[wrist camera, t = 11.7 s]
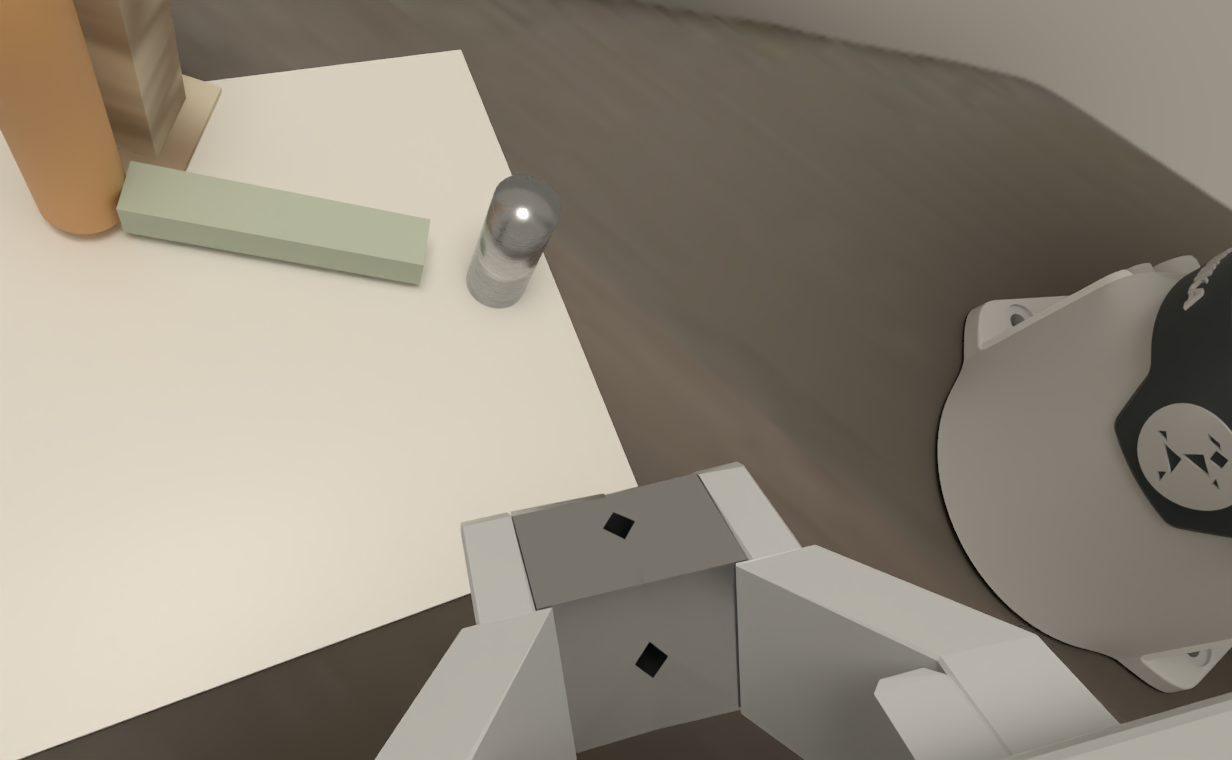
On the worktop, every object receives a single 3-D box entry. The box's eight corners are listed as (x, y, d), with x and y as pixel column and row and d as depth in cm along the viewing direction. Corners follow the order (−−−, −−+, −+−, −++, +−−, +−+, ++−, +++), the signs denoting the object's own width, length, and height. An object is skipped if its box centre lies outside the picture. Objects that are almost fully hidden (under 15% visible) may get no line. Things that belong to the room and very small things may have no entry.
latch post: (91, 53, 37) (-1, -255, 26) (222, 96, 38) (189, -182, 27) (35, 155, 35) (-90, -132, 24) (176, 198, 36) (119, -58, 25)
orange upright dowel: (427, 229, 38) (531, -212, 20) (417, 296, 36) (519, -113, 19) (50, 156, 34) (-201, -448, 17) (26, 228, 33) (-268, -343, 16)
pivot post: (513, 249, 39) (546, 169, 34) (533, 301, 38) (570, 227, 33) (457, 262, 38) (483, 180, 33) (477, 314, 37) (506, 240, 32)
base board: (459, 54, 42) (460, 49, 42) (651, 527, 37) (653, 525, 36) (-201, 138, 32) (-205, 132, 32) (-73, 793, 27) (-77, 794, 27)
